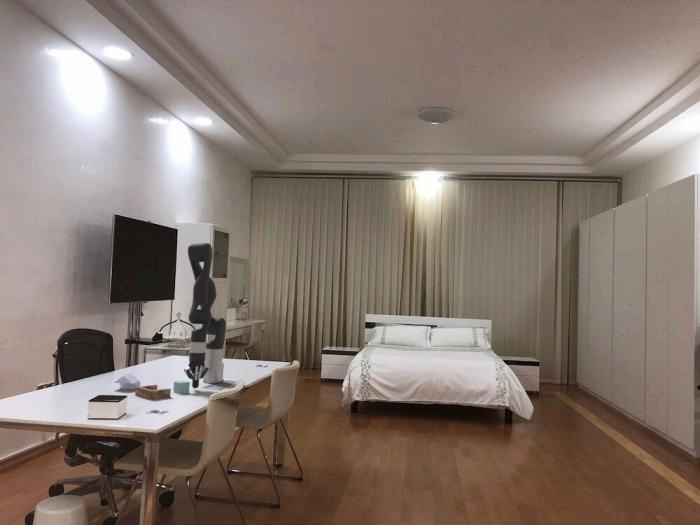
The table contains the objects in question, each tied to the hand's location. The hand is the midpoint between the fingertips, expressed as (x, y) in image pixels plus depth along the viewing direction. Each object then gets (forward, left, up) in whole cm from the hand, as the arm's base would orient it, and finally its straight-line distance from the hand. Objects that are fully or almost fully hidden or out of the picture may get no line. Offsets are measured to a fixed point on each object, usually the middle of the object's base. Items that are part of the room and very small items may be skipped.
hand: (195, 387), depth 265 cm
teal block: (+8, 0, -1) cm, 8 cm away
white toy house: (+22, -22, -2) cm, 31 cm away
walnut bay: (+22, 0, -1) cm, 22 cm away
